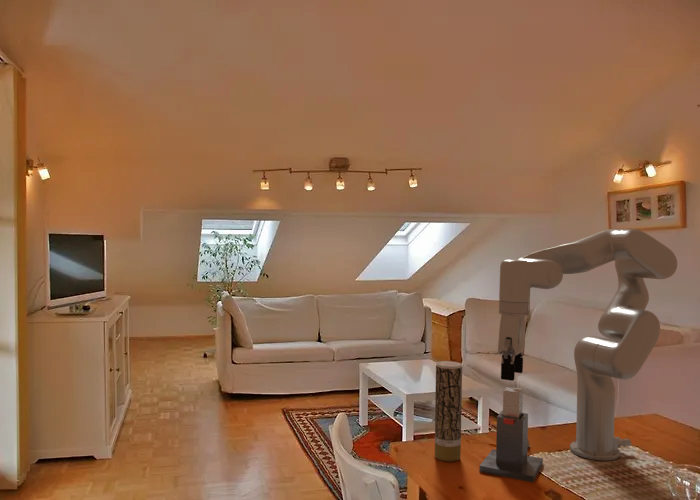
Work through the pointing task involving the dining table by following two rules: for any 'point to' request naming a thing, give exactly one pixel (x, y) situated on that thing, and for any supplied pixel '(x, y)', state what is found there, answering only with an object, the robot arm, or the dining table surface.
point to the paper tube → (448, 411)
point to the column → (512, 402)
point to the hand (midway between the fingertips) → (511, 375)
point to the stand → (512, 451)
